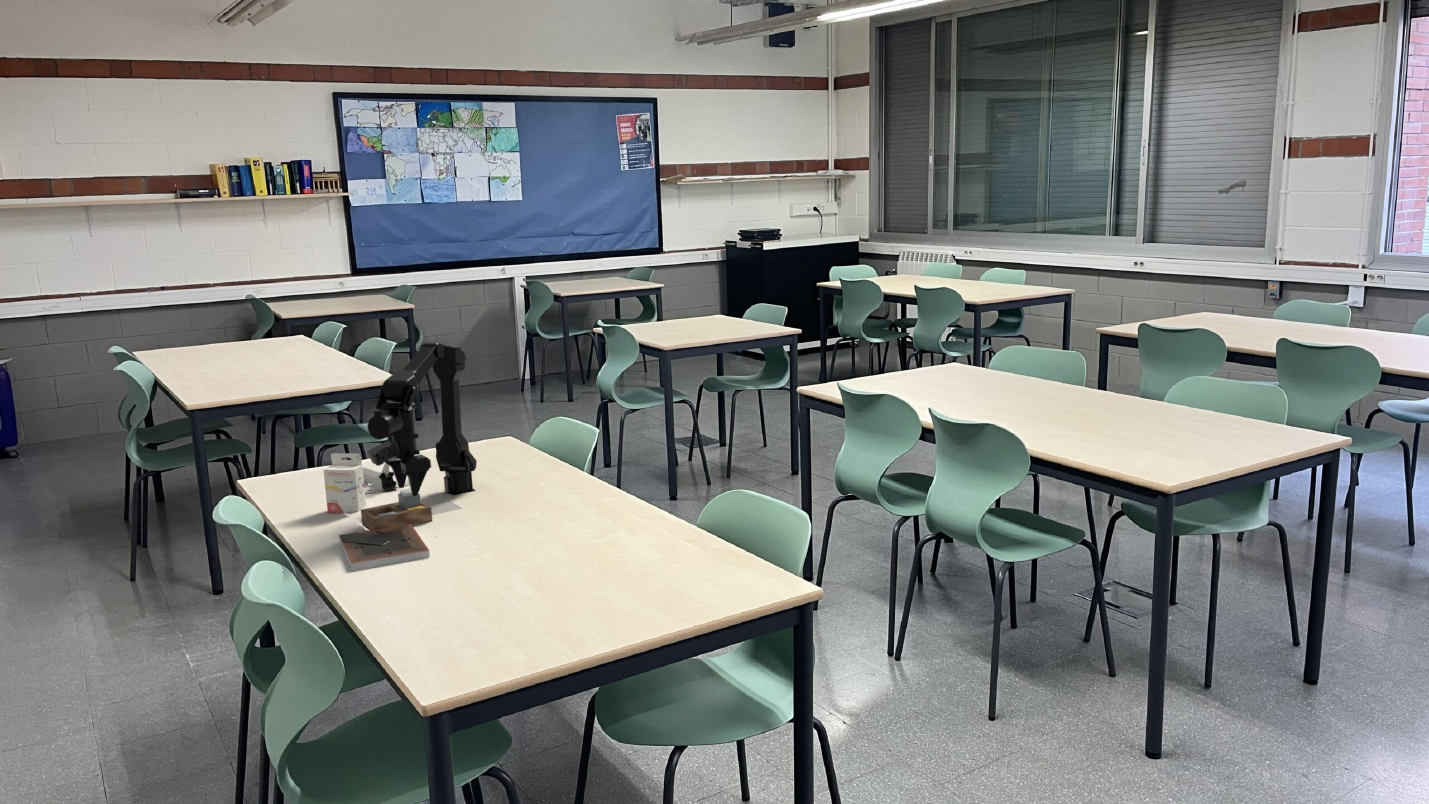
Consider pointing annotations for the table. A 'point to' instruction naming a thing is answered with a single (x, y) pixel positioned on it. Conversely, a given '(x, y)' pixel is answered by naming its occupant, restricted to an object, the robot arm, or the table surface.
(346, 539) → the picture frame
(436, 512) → the pad
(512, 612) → the table surface
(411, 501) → the plug
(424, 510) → the socket block
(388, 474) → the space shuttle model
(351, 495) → the ink cartridge box
